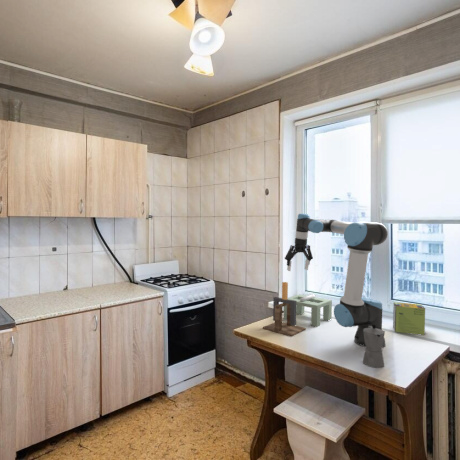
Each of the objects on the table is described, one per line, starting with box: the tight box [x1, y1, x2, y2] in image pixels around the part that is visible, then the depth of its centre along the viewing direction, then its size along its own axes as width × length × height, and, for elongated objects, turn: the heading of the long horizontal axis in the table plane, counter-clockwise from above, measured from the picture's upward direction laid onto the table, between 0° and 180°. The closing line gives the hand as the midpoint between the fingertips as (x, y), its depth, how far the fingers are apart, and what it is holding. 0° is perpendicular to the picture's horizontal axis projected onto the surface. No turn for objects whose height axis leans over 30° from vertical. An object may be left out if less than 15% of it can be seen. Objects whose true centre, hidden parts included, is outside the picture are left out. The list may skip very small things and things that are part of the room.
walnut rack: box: [262, 302, 307, 338], centre depth 196 cm, size 16×20×16 cm
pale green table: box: [283, 293, 333, 328], centre depth 217 cm, size 20×24×15 cm
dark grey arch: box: [272, 281, 297, 326], centre depth 196 cm, size 2×14×24 cm, turn 48°
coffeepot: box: [362, 324, 386, 369], centre depth 151 cm, size 15×9×18 cm, turn 174°
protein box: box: [392, 302, 426, 336], centre depth 196 cm, size 10×15×16 cm
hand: (297, 270), depth 213 cm, fingers open, 13 cm apart
